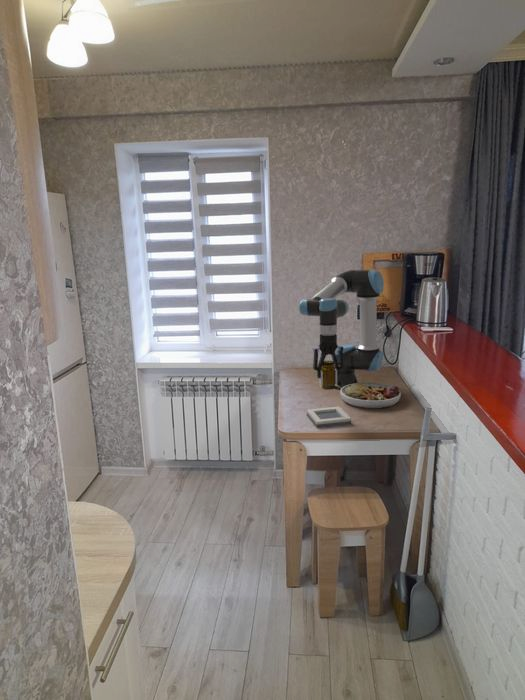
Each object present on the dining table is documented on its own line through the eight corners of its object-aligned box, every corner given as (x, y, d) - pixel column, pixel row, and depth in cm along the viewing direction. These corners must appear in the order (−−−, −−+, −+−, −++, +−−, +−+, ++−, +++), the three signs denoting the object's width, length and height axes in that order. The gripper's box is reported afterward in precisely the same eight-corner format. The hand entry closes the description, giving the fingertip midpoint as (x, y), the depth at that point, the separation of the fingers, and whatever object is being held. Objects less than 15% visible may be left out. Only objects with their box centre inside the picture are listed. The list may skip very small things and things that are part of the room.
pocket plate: (306, 415, 221) (306, 409, 221) (338, 411, 224) (338, 406, 224) (316, 427, 206) (316, 422, 205) (351, 424, 209) (351, 418, 208)
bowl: (341, 410, 227) (341, 394, 225) (339, 391, 256) (339, 377, 254) (404, 411, 223) (405, 395, 221) (395, 391, 252) (396, 377, 250)
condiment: (318, 385, 214) (318, 360, 211) (335, 384, 216) (335, 358, 213) (324, 390, 207) (324, 364, 205) (342, 388, 209) (342, 362, 207)
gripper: (309, 336, 201) (310, 388, 206) (351, 334, 204) (351, 384, 209) (305, 333, 208) (305, 383, 213) (345, 331, 211) (345, 380, 216)
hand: (328, 384), depth 211 cm, fingers closed on condiment, 6 cm apart
